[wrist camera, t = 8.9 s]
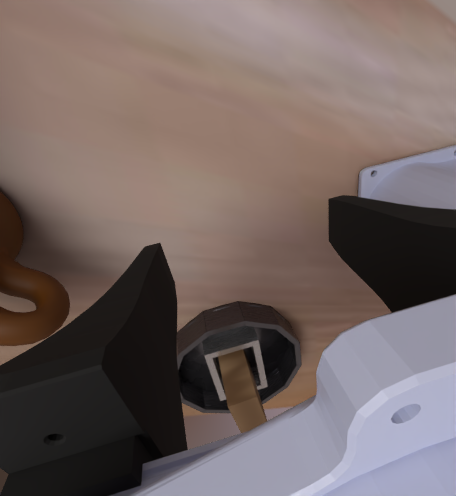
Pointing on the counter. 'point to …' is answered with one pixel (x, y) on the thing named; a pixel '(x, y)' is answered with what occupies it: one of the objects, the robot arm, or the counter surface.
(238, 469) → the robot arm
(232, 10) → the counter surface
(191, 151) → the counter surface
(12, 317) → the mug
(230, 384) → the wooden block
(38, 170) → the counter surface
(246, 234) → the counter surface
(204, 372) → the bowl
